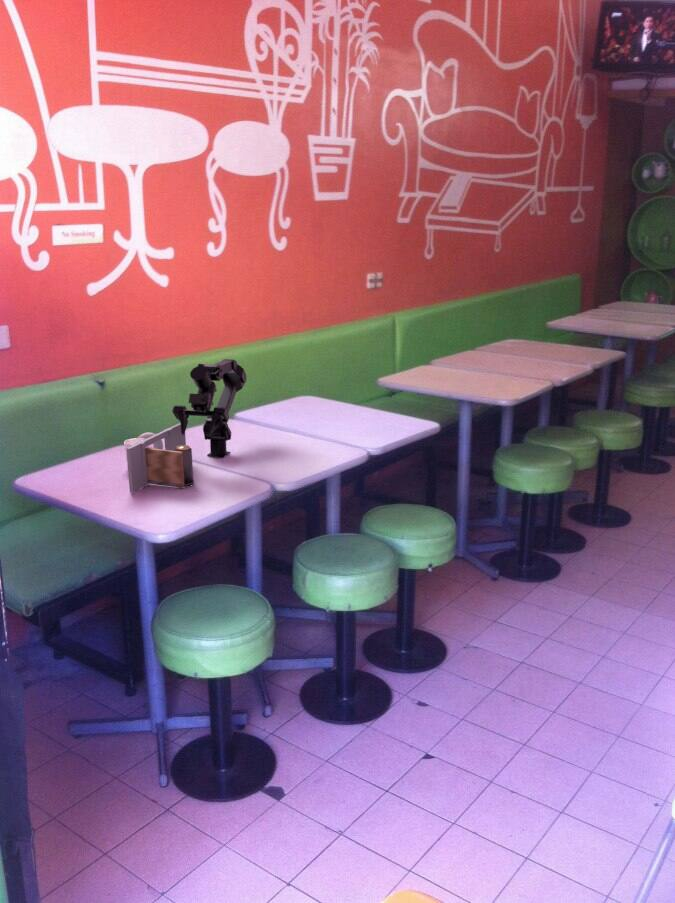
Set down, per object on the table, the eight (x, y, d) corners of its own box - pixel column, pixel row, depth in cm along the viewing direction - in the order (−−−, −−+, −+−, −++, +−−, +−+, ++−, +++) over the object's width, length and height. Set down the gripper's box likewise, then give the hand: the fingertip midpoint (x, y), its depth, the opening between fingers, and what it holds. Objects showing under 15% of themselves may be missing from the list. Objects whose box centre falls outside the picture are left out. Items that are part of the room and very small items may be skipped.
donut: (135, 460, 307) (133, 434, 304) (136, 458, 310) (134, 431, 307) (163, 460, 308) (161, 433, 305) (164, 457, 311) (162, 430, 308)
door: (145, 483, 282) (142, 448, 278) (147, 482, 283) (145, 447, 280) (182, 488, 277) (180, 452, 274) (184, 487, 278) (182, 451, 275)
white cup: (152, 469, 297) (150, 442, 295) (131, 473, 293) (128, 445, 290) (144, 463, 304) (142, 436, 301) (122, 467, 299) (120, 440, 297)
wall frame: (182, 462, 306) (180, 421, 301) (188, 462, 305) (186, 422, 300) (128, 492, 275) (124, 448, 271) (134, 493, 274) (131, 448, 270)
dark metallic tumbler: (184, 480, 287) (182, 443, 283) (198, 483, 283) (195, 446, 280) (172, 485, 282) (169, 447, 278) (185, 488, 279) (182, 450, 275)
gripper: (172, 382, 291) (161, 421, 284) (224, 384, 288) (215, 424, 281) (182, 399, 301) (172, 438, 294) (233, 401, 297) (224, 441, 290)
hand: (195, 435), depth 289 cm, fingers open, 9 cm apart
